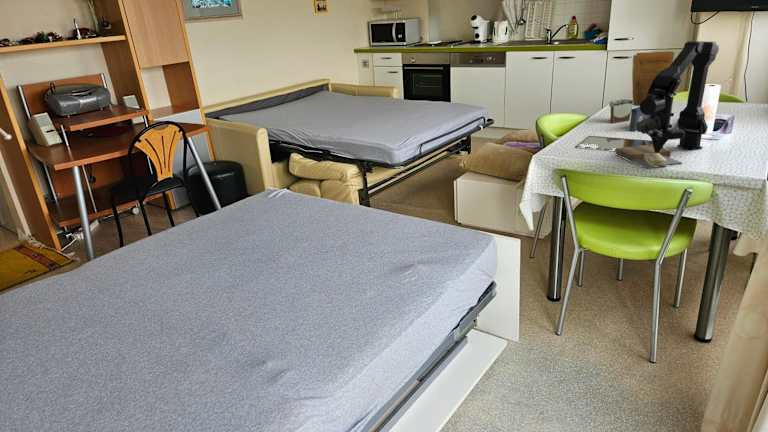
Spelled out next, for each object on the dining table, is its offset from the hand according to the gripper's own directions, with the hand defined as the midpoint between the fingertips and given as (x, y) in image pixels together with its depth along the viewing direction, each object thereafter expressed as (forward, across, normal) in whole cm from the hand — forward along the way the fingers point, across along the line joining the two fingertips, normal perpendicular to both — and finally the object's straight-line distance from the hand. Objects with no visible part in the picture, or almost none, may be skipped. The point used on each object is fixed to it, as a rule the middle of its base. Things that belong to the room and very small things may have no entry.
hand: (656, 152), depth 188 cm
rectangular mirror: (+4, -25, 0) cm, 25 cm away
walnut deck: (+3, -8, 0) cm, 9 cm away
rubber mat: (+3, +2, -1) cm, 4 cm away
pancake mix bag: (+4, -88, +56) cm, 104 cm away
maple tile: (+3, +2, -2) cm, 4 cm away
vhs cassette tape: (+4, -47, +26) cm, 54 cm away
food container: (+4, -63, +23) cm, 67 cm away
